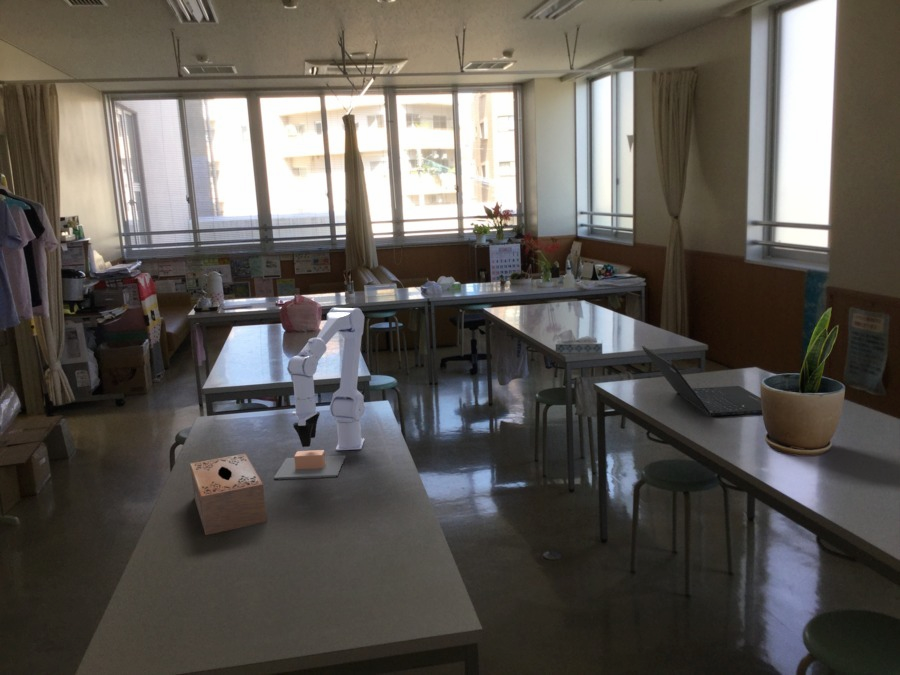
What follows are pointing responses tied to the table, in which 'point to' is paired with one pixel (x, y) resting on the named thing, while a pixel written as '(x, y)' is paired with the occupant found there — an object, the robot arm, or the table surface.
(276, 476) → the mat
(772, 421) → the potted plant
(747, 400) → the laptop
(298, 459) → the light orange rectangular block
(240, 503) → the tissue box cover
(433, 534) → the table surface
